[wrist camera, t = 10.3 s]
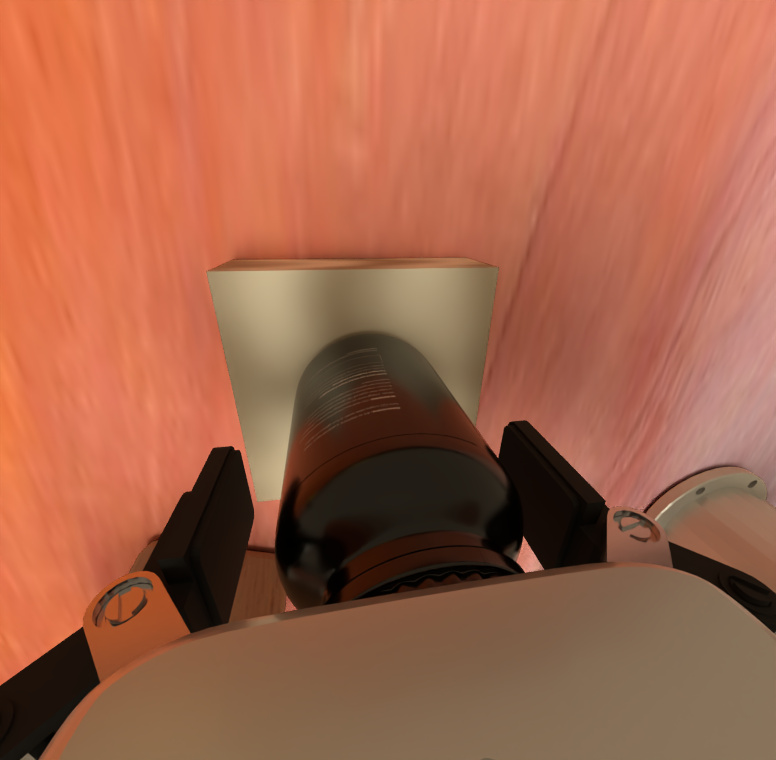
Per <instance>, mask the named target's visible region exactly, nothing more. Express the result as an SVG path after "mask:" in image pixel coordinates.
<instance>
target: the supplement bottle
mask: <svg viewBox="0 0 776 760" xmlns="http://www.w3.org/2000/svg"><path fill="white" fill-rule="evenodd" d="M523 531H524V518H523V509H522V504H521V499H520V496H519V493H518V491H517V488H516V486H515V484H514V482H513V481H512V479H511V477H510V476H509V474H508V473H507V471H506V469H505V468H504V466H503V465H502V463H501V462H500V461H499V459H498V458H497V456H496V455H495V454H494V452H493V451H492V449H491V448H490V447H489V445H488V444H487V442H486V441H485V439H484V438H483V437H482V435H481V434H480V432H479V431H478V430H477V428H476V427H475V425H474V424H473V423H472V421H471V420H470V418H469V417H468V416H467V414H466V413H465V411H464V410H463V409H462V407H461V406H460V404H459V403H458V402H457V400H456V399H455V397H454V396H453V395H452V393H451V392H450V390H449V389H448V388H447V386H446V385H445V383H444V382H443V381H442V379H441V378H440V376H439V375H438V374H437V372H436V371H435V369H434V368H433V367H432V365H431V364H430V363H429V362H428V360H427V359H426V358H425V357H424V356H423V355H422V354H421V353H420V352H419V351H418V350H417V349H416V348H414V347H413V346H412V345H410V344H408V343H407V342H405V341H403V340H400V339H398V338H395V337H391V336H387V335H381V334H361V335H355V336H351V337H347V338H344V339H342V340H339V341H337V342H335V343H333V344H331V345H330V346H328V347H326V348H325V349H324V350H322V351H321V352H320V353H319V354H318V355H317V356H315V357H314V358H313V360H312V361H311V362H310V363H309V364H308V366H307V367H306V369H305V370H304V372H303V374H302V376H301V378H300V381H299V383H298V387H297V390H296V396H295V401H294V407H293V414H292V421H291V428H290V435H289V442H288V449H287V456H286V463H285V470H284V477H283V484H282V491H281V498H280V505H279V513H278V520H277V527H276V538H275V563H276V569H277V572H278V576H279V579H280V582H281V584H282V586H283V588H284V590H285V592H286V594H287V596H288V598H289V599H290V601H291V602H292V603H293V605H294V606H295V607H296V609H297V610H299V609H305V608H311V607H317V606H323V605H329V604H335V603H341V602H347V601H353V600H359V599H365V598H371V597H377V596H383V595H389V594H395V593H402V592H408V591H414V590H420V589H426V588H432V587H439V586H445V585H451V584H457V583H464V582H470V581H476V580H483V579H489V578H495V577H502V576H508V575H515V574H521V573H525V572H524V571H523V569H522V568H521V566H520V565H519V564H518V563H517V562H516V561H517V558H518V556H519V553H520V549H521V545H522V541H523Z"/></svg>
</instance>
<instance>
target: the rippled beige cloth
mask: <svg viewBox="0 0 776 760" xmlns="http://www.w3.org/2000/svg"><path fill="white" fill-rule="evenodd" d="M498 271H499V267H496V266H492V265H489V264H486V263H482V262H479V261H475V260H472V259H469V258H365V259H258V260H231V261H229V262H226V263H224V264H222V265H220V266H218V267H215V268H213V269H211V270H209V271H206V272H207V277H208V281H209V286H210V290H211V295H212V299H213V304H214V308H215V313H216V317H217V322H218V326H219V331H220V335H221V340H222V344H223V349H224V353H225V358H226V362H227V367H228V371H229V376H230V380H231V385H232V389H233V394H234V398H235V403H236V407H237V412H238V416H239V421H240V425H241V430H242V434H243V439H244V443H245V448H246V452H247V457H248V461H249V466H250V470H251V475H252V479H253V484H254V488H255V493H256V497H257V502H261V501H270V500H279V499H280V498H281V491H282V484H283V477H284V470H285V463H286V456H287V449H288V442H289V435H290V428H291V421H292V414H293V407H294V401H295V396H296V390H297V387H298V383H299V381H300V378H301V376H302V374H303V372H304V370H305V369H306V367H307V366H308V364H309V363H310V362H311V361H312V360H313V358H314V357H315V356H317V355H318V354H319V353H320V352H321V351H322V350H324V349H325V348H326V347H328V346H330V345H331V344H333V343H335V342H337V341H339V340H342V339H344V338H347V337H351V336H355V335H361V334H381V335H387V336H391V337H395V338H398V339H400V340H403V341H405V342H407V343H408V344H410V345H412V346H413V347H414V348H416V349H417V350H418V351H419V352H420V353H421V354H422V355H423V356H424V357H425V358H426V359H427V360H428V362H429V363H430V364H431V365H432V367H433V368H434V369H435V371H436V372H437V374H438V375H439V376H440V378H441V379H442V381H443V382H444V383H445V385H446V386H447V388H448V389H449V390H450V392H451V393H452V395H453V396H454V397H455V399H456V400H457V402H458V403H459V404H460V406H461V407H462V409H463V410H464V411H465V413H466V414H467V416H468V417H469V418H470V420H471V421H472V423H473V424H474V425H475V426H476V420H477V413H478V406H479V399H480V393H481V386H482V379H483V372H484V365H485V359H486V352H487V345H488V338H489V332H490V325H491V318H492V311H493V304H494V298H495V291H496V284H497V277H498Z"/></svg>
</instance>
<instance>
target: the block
mask: <svg viewBox="0 0 776 760" xmlns="http://www.w3.org/2000/svg"><path fill="white" fill-rule="evenodd" d="M157 542H158V541H152V542H151V543H150V544H149V545H148V546H147V547H146V548H145V549H144V550H143V551H142V552H141V553H140V554H139V556H138V557H137V559H136V561H135V563H134V565H133V566H132V568H131V570H130V572H129V573H128V574H131V573H134V572H138V571H143V569H144V567H145V565H146V563H147V561H148V559H149V557H150V555H151V553H152V551H153V550H154V548H155V546H156V544H157ZM286 595H287V594H286V592H285V590H284V588H283V586H282V584H281V582H280V579H279V576H278V572H277V569H276V563H275V554H273V553H265V552H257V551H249V550H246V553H245V557H244V561H243V566H242V570H241V574H240V578H239V582H238V586H237V590H236V594H235V598H234V602H233V607H232V611H231V615H230V619H229V622H228V623H232V622H236V621H240V620H245V619H251V618H256V617H261V616H267V615H272V614H278V613H283V612H285V604H286Z"/></svg>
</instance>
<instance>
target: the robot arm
mask: <svg viewBox="0 0 776 760" xmlns="http://www.w3.org/2000/svg"><path fill="white" fill-rule="evenodd" d="M498 459H499V461H500V462H501V463H502V465H503V466H504V468H505V469H506V471H507V473H508V474H509V476H510V477H511V479H512V481H513V482H514V484H515V486H516V488H517V491H518V493H519V496H520V499H521V504H522V509H523V518H524V531H523V536H524V537H525V539H526V541H527V542H528V544H529V546H530V547H531V549H532V550H533V552H534V554H535V555H536V557H537V559H538V560H539V562H540V563H541V565H542V567H543V568H544V570H540V571H534V572H528V573H521V574H515V575H508V576H502V577H495V578H489V579H483V580H476V581H470V582H464V583H457V584H451V585H445V586H439V587H432V588H426V589H420V590H414V591H408V592H402V593H395V594H389V595H383V596H377V597H371V598H365V599H359V600H353V601H347V602H341V603H335V604H329V605H323V606H317V607H311V608H305V609H299V610H294V611H289V612H283V613H278V614H272V615H267V616H261V617H256V618H251V619H245V620H240V621H236V622H232V623H228V622H229V619H230V615H231V611H232V607H233V602H234V598H235V594H236V590H237V586H238V582H239V578H240V574H241V570H242V566H243V561H244V557H245V553H246V549H247V545H248V541H249V537H250V533H251V529H252V525H253V520H254V508H253V504H252V499H251V495H250V491H249V486H248V482H247V478H246V473H245V469H244V465H243V460H242V456H241V452H240V450H234V448H233V447H232V446H229V447H217V448H213V449H212V451H211V453H210V455H209V457H208V459H207V461H206V463H205V465H204V467H203V469H202V471H201V473H200V475H199V477H198V479H197V481H196V483H195V485H194V487H193V489H192V491H190V492H185V493H184V494H183V495H182V497H181V498H180V500H179V502H178V504H177V506H176V507H175V509H174V511H173V513H172V515H171V517H170V519H169V521H168V523H167V525H166V527H165V529H164V530H163V532H162V534H161V536H160V538H159V540H158V542H157V544H156V546H155V548H154V550H153V551H152V553H151V555H150V557H149V559H148V561H147V563H146V565H145V567H144V569H143V571H138V572H134V573H131V574H127V575H125V576H123V577H121V578H119V579H117V580H115V581H114V582H112V583H111V584H109V585H108V586H107V587H105V588H104V589H103V590H102V591H101V592H100V593H99V594H98V595H97V596H96V597H95V598H94V599H93V600H92V602H91V603H90V605H89V606H88V608H87V609H86V612H85V615H84V617H83V627H82V628H81V629H79V630H78V631H76V632H75V633H74V634H72V635H71V636H69V637H68V638H66V639H65V640H64V641H62V642H61V643H59V644H58V645H57V646H55V647H54V648H52V649H51V650H50V651H48V652H47V653H45V654H44V655H43V656H41V657H40V658H38V659H37V660H36V661H34V662H33V663H31V664H30V665H29V666H27V667H26V668H24V669H23V670H22V671H20V672H19V673H17V674H16V675H15V676H13V677H12V678H10V679H9V680H8V681H6V682H5V683H3V684H2V685H1V686H0V760H776V507H775V506H773V505H771V504H770V503H768V502H767V501H766V499H767V488H766V485H765V483H764V482H763V480H762V479H761V478H760V477H758V476H756V475H755V474H753V473H751V472H750V471H748V470H746V469H743V468H740V467H722V468H715V469H712V470H708V471H705V472H702V473H700V474H697V475H695V476H692V477H690V478H689V479H687V480H685V481H683V482H681V483H679V484H678V485H676V486H675V487H673V488H672V489H671V490H669V491H668V492H666V493H665V494H664V495H663V496H662V497H661V498H659V499H658V500H657V501H656V502H655V503H654V504H653V505H652V506H651V507H650V508H649V509H648V511H647V512H646V513H643V512H641V511H638V510H636V509H633V508H629V507H622V506H617V507H613V508H611V509H609V508H608V507H607V506H606V505H605V502H606V501H605V500H604V499H603V498H602V497H601V496H600V495H599V494H598V493H597V492H596V491H595V489H594V488H593V487H592V486H591V485H590V484H589V483H588V482H587V481H586V480H585V479H584V478H583V477H582V476H581V475H580V474H579V473H578V472H577V471H576V470H575V469H574V468H573V467H572V466H571V465H570V464H569V463H568V462H567V461H566V460H565V459H564V458H563V457H562V456H561V455H560V454H559V453H558V452H557V451H556V450H555V449H554V448H553V447H552V446H551V445H550V444H549V443H548V442H547V441H546V440H545V438H544V437H543V436H542V435H541V434H540V433H539V432H538V431H537V430H536V429H535V428H534V427H533V426H532V425H531V424H530V423H529V422H528V421H525V420H524V421H513V422H510V423H509V424H508V426H506V427H505V428H504V432H503V437H502V442H501V448H500V453H499V458H498Z"/></svg>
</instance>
